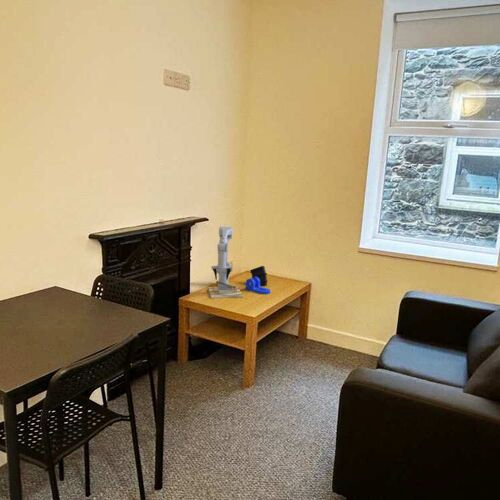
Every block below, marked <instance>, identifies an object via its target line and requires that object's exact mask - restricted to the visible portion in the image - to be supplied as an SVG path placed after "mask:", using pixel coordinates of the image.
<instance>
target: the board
mask: <svg viewBox="0 0 500 500" xmlns="http://www.w3.org/2000/svg"><path fill="white" fill-rule="evenodd" d="M236 288H237V293H234V291H233V294H219V293H218V290H217V289H218V287H215V293H213V287H208V289H209V290H208V292H209V296H210V298H211V299H242V298H244V295H243V293H242V292H241V289H240V287H237V286H236ZM232 289H233V288H232Z"/></svg>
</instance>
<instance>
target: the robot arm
mask: <svg viewBox="0 0 500 500" xmlns="http://www.w3.org/2000/svg"><path fill="white" fill-rule="evenodd" d="M233 230H234V229H233V227H232V226H220V227H219V228H218V236H219V242H218V244H217V265H213V266H212V265H211V267H210V268H211V270H212V271H213V274H214V279H215V280H216V281H218V282H222V283H225V284H228V285H230V284H229V279H230V278H229V275H230V274H231V272H232V270H233V266H232V265H231V263H230V262H229V261H228V259H229V258H228V257H229V242H230V240H231V239H232V238H233V233H234V232H233ZM217 275H218V277H217ZM217 278H218V280H217ZM218 286H225V285H222V284H217V287H218Z"/></svg>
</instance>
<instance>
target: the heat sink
mask: <svg viewBox="0 0 500 500" xmlns="http://www.w3.org/2000/svg"><path fill="white" fill-rule="evenodd" d="M217 288H218V289H217V290H218V293H219V294H233V289H232V287H228V286H218V285H217Z"/></svg>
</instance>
